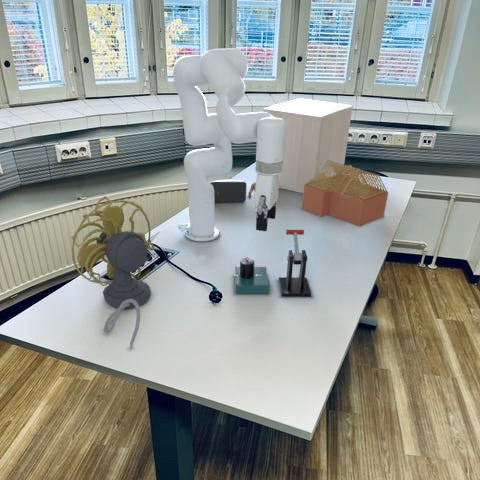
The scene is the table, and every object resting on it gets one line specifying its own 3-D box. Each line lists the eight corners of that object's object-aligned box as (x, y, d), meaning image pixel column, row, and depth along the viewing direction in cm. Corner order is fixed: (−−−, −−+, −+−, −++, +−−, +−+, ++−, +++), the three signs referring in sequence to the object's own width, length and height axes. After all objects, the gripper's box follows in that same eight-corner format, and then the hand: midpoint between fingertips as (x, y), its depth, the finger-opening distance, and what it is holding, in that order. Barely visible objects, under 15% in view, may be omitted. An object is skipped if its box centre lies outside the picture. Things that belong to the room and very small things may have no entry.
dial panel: (233, 294, 142) (233, 284, 140) (232, 275, 152) (232, 266, 150) (268, 294, 142) (268, 284, 140) (265, 275, 152) (266, 266, 150)
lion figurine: (265, 190, 221) (266, 171, 215) (274, 193, 218) (275, 174, 213) (244, 198, 212) (245, 178, 207) (253, 201, 209) (254, 181, 204)
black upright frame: (278, 280, 149) (281, 245, 142) (306, 280, 150) (310, 246, 143) (281, 296, 141) (284, 260, 134) (310, 296, 141) (315, 260, 134)
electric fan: (149, 274, 151) (139, 184, 134) (207, 317, 131) (205, 217, 114) (72, 301, 137) (50, 203, 120) (125, 354, 117) (108, 245, 100)
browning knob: (254, 278, 143) (254, 263, 140) (240, 278, 143) (240, 263, 140) (253, 272, 147) (253, 257, 144) (239, 272, 147) (239, 257, 144)
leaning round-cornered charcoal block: (245, 199, 210) (245, 178, 205) (246, 203, 206) (246, 182, 201) (209, 200, 209) (209, 179, 203) (209, 203, 205) (209, 182, 200)
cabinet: (293, 166, 253) (299, 98, 234) (342, 177, 240) (353, 105, 221) (259, 183, 229) (263, 108, 210) (312, 195, 216) (321, 116, 197)
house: (301, 208, 202) (305, 163, 191) (336, 197, 215) (342, 154, 204) (351, 228, 185) (359, 181, 174) (386, 215, 197) (396, 170, 186)
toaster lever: (285, 233, 145) (286, 228, 143) (303, 233, 145) (304, 228, 143) (288, 264, 140) (289, 260, 138) (306, 264, 140) (307, 260, 138)
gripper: (264, 156, 136) (261, 212, 146) (247, 173, 122) (245, 233, 132) (289, 159, 134) (284, 215, 144) (274, 177, 121) (270, 237, 130)
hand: (265, 224), depth 138 cm, fingers open, 9 cm apart
